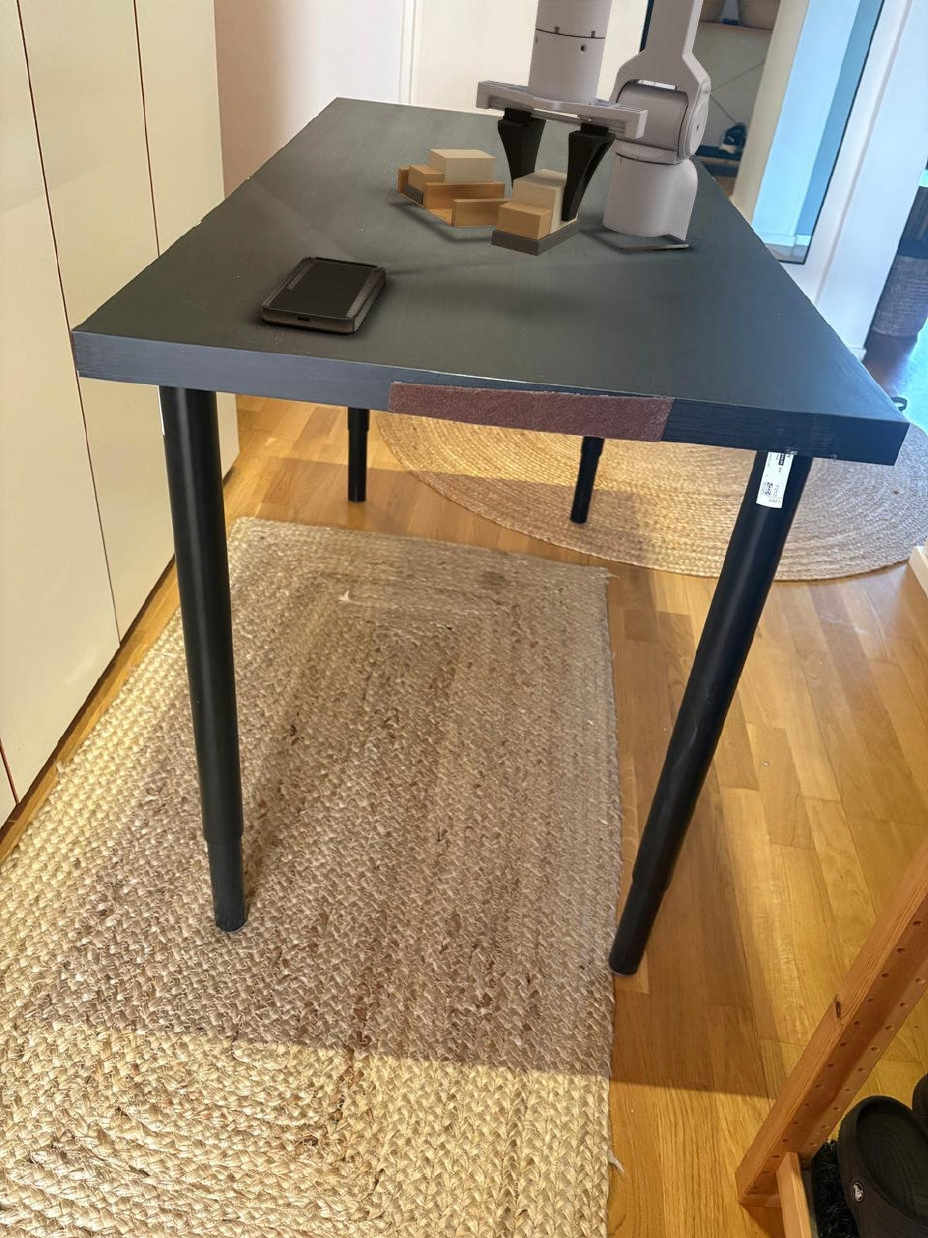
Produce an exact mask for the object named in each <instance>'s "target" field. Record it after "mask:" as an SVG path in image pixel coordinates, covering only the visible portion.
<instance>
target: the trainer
mask: <svg viewBox="0 0 928 1238" xmlns="http://www.w3.org/2000/svg"><path fill="white" fill-rule="evenodd" d="M566 181H567V173H564V172H559V171H554V170H551V169H545V168H541V169H539V170H537V171H536V170H535V171H534V173H531V174H528V175H526V176H523V177H521V178H518V179H515V180H514V182H513V190H512V189H511V190H512V191H511V197H510V198H511V201H510V202H508V203H505V204H503V205H501V206H500V208H499V216H498V225H496V226H497V227H496V228H495V229H493V230H492V234H491V241H490V242H491V243H490V245H491V246H494V247H499V248H503V249H508V250H510V251H515V252H518V253H523V254H527V255H530V256H535V257H539V256H540V255H542V254H544V253H545V252H548V251H550V250H551V249H553V248H555V247H556V246H558V245H560V244H562V243H564V242H566V241H567V240H569V239H571V238H572V237H575V236H576V235H578V234H579V228H580V223H581V219H578V214H579V211H578V212H577V216H576V218H575V219H573V220H571V221H569V222H565V221H561V214H562V203H563V197H564V192H565V187H566Z"/></svg>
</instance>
